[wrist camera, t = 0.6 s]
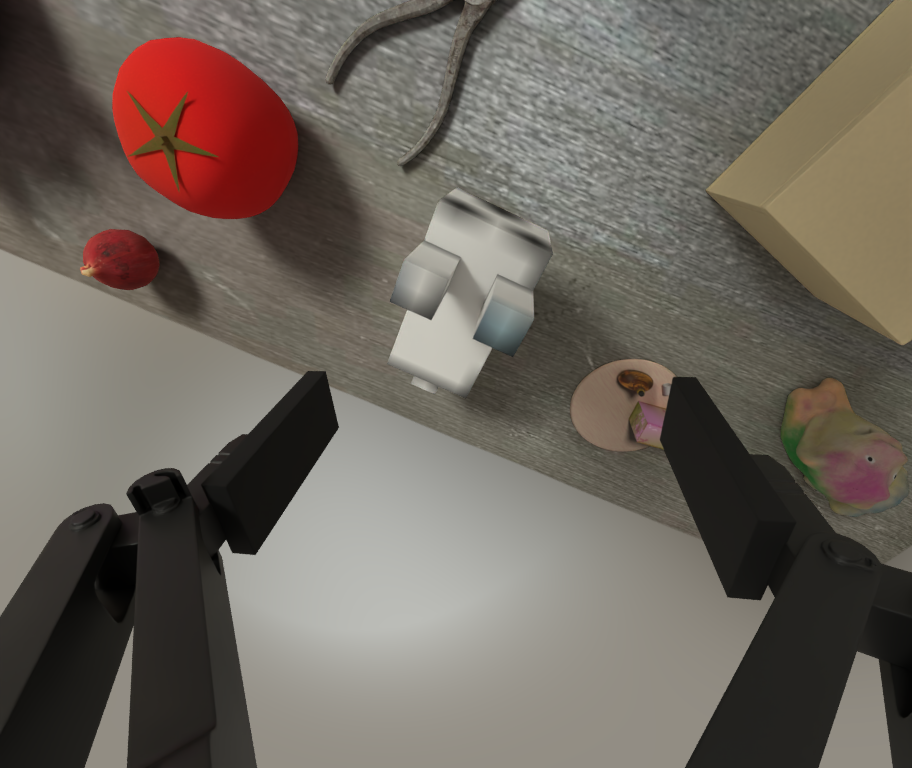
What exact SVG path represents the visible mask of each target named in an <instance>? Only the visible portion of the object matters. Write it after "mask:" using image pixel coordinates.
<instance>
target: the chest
mask: <svg viewBox="0 0 912 768" xmlns="http://www.w3.org/2000/svg"><path fill="white" fill-rule="evenodd" d="M911 67H912V0H894V1H893V2H892V3H891V4H890V5H889V6H888V7H887V8H886V9H885V10H884V11H883V12H882V13H881V14H880V15H879V16H878V17H877V18H876V19H875V20H874V21H873V22H872V23H871V24H870V25H869V26H868V27H867V28H866V29H865V30H864V31H863V32H862V33H861V34H860V35H859V36H858V37H857V38H856V39H855V40H854V41H853V42H852V43H851V44H850V45H849V46H848V47H847V48H846V49H845V50H844V51H843V52H842V53H841V54H840V55H839V56H838V57H837V58H836V59H835V60H834V61H833V62H832V63H831V64H830V65H829V66H828V67H827V68H826V69H825V70H824V71H823V72H822V73H821V74H820V75H819V76H818V77H817V78H816V79H815V80H814V81H813V82H812V83H811V84H810V85H809V87H808V88H807V89H806V90H805V91H804V92H803V93H802V94H801V95H800V96H799V97H798V98H797V99H796V100H795V101H794V102H793V103H792V104H791V105H790V106H789V107H788V108H787V109H786V110H785V111H784V112H783V113H782V114H781V115H780V116H779V117H778V118H777V119H776V120H775V121H774V122H773V123H772V124H771V125H770V126H769V127H768V128H767V129H766V130H765V131H764V132H763V133H762V134H761V135H760V136H759V137H758V138H757V139H756V140H755V141H754V142H753V143H752V144H751V145H750V146H749V147H748V148H747V149H746V150H745V151H744V152H743V153H742V154H741V155H740V156H739V157H738V158H737V159H736V160H735V161H734V162H733V163H732V164H731V165H730V166H729V167H728V168H727V169H726V170H725V171H724V172H723V173H722V174H721V175H720V176H719V177H718V178H717V179H716V180H715V181H714V182H713V183H712V184H711V185H710V186H709V187H708V188H707V189H706V192H707V193H708V194H709V195H710V196H711V197H712V198H713V199H714V200H715V201H716V202H717V203H719V204H720V205H721V206H722V207H723V208H724V209H725V210H726V211H727V212H728V213H729V214H730V215H731V216H732V217H733V218H734V219H735V220H736V221H737V222H738V223H739V224H740V225H741V226H742V227H743V228H744V229H745V230H746V231H747V232H749V233H750V234H751V235H752V236H753V237H754V238H755V239H756V240H757V241H758V242H759V243H760V244H761V245H762V246H763V247H764V248H765V249H766V250H767V251H768V252H769V253H770V254H771V255H772V256H773V257H774V258H775V259H776V260H777V261H779V262H780V263H781V264H782V265H783V266H784V267H785V268H786V269H787V270H788V271H789V272H790V273H791V274H792V275H793V276H794V277H795V278H796V279H797V280H798V281H799V282H800V283H801V284H802V285H803V286H804V287H805V288H806V289H807V290H808V291H810V292H811V293H812V294H813V295H814V296H815V297H816V298H818V299H820V300H822V301H823V302H825V303H827V304H829V305H830V306H832V307H834V308H836V309H838V310H839V311H841V312H843V313H845V314H847V315H848V316H850V317H852V318H854V319H855V320H857V321H859V322H861V323H863V324H864V325H866V326H868V327H870V328H871V329H873V330H875V331H877V332H879V333H880V334H882V335H884V336H886V337H888V338H889V339H891V340H893V339H892V338H891V337H890V336H889V335H888V334H887V333H886V332H885V331H884V330H883V329H882V328H881V327H880V326H879V325H878V324H877V323H876V322H875V321H874V320H873V319H872V318H871V317H869V316H868V315H867V314H866V313H865V312H864V311H863V310H862V309H861V308H860V307H859V306H858V305H857V304H856V303H855V302H854V301H853V300H852V299H851V298H850V297H849V296H848V295H847V294H846V293H845V292H844V291H843V290H842V289H841V288H840V287H839V286H838V285H837V284H836V283H835V282H834V281H833V280H832V279H831V278H830V277H829V276H828V275H827V274H826V273H825V272H824V271H823V270H822V269H821V268H820V267H819V266H818V265H817V264H816V263H815V262H814V261H813V260H812V259H811V258H810V257H809V256H808V255H807V254H806V253H805V252H804V251H803V250H802V249H801V248H800V247H799V246H798V245H797V244H796V243H795V242H794V241H793V240H792V239H791V238H790V237H789V236H788V235H787V234H786V233H785V232H784V231H783V230H782V229H781V228H780V227H779V226H778V225H777V224H776V223H775V222H774V221H773V220H772V219H771V218H770V217H769V216H768V215H767V214H766V213H765V212H764V211H763V210H762V209H761V208H760V206H761V205H762V204H763V203H764V202H765V201H766V200H767V199H769V198H770V197H771V196H772V195H773V194H774V193H775V192H776V191H777V190H778V189H779V188H780V187H782V186H783V185H784V184H785V183H786V182H787V181H788V180H789V179H790V178H791V177H792V176H793V175H795V174H796V173H797V172H798V171H799V170H800V169H801V168H802V167H803V166H804V165H805V164H807V163H808V162H809V161H810V160H811V159H812V158H813V157H814V156H815V155H816V154H817V153H818V152H820V151H821V150H822V149H823V148H824V147H825V146H826V145H827V144H828V143H829V142H830V141H832V140H833V139H834V138H835V137H836V136H837V135H838V134H839V133H840V132H841V131H842V130H843V129H845V128H846V127H847V126H848V125H849V124H850V123H851V122H852V121H853V120H854V119H855V118H856V117H858V116H859V115H860V114H861V113H862V112H863V111H864V110H865V109H866V108H867V107H868V106H870V105H871V104H872V103H873V102H874V101H875V100H876V99H877V98H878V97H879V96H880V95H881V94H883V93H884V92H885V91H886V90H887V89H888V88H889V87H890V86H891V85H892V84H893V83H894V82H896V81H897V80H898V79H899V78H900V77H901V76H902V75H903V74H904V73H905V72H906V71H908V70H909V69H910V68H911ZM893 341H894V340H893Z"/></svg>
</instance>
